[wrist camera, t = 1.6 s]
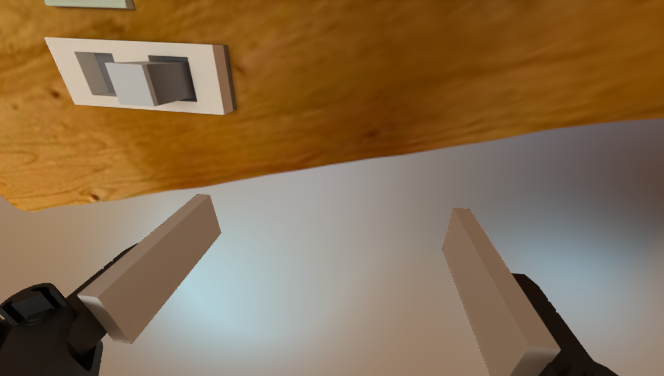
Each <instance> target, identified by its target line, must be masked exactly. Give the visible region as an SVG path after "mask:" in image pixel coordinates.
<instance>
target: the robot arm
mask: <svg viewBox="0 0 664 376" xmlns="http://www.w3.org/2000/svg"><path fill="white" fill-rule="evenodd" d="M220 234H221V231H220V227H219V224H218V221H217V217H216V214H215V211H214V207H213V204H212V201H211V198H210V195H204V194H197V195H196V196H194V197H193V198H192V199H191V200H190V201H188V202H187V203H186V204H185V205H184V206H182V207H181V208H180V209H179V210H178V211H177V212H175V213H174V214H173V215H172V216H171V217H169V218H168V219H167V220H166V221H165V222H163V224H161V225H160V226H159V227H158V228H156V229H155V230H154V231H153V232H151V233H150V234H149V235H148V236H147V237H145V238H144V239H143V240H142V241H141V242H140V243H137V244H135V245H133V246H132V247H130V248H128V249H126V250H124V251H123V252H122V253H120V254H119V255H118V256H117V257H115V258H114V259H113V261H112V262H109V263H108V264H107V265H106V266H104V269H101V270H100V271H98V272H97V273H96V274H95V275H93V276H92V277H91V278H90V279H89V280H87V281H86V282H85V283H84V284H83V285H81V286H80V287H79V288H78V289H76V290H75V291H74V292H73V293H72V294H70V295H69V296H68V297H67V298H65V297H64V296H63V295H62V294H61V293H60V292H59V290H58V289H57V288H56V287H55V286H54V285H53V284H51V283H41V284H37V285H33V286H31V287H28V288H26V289H23V290H21V291H20V292H18V293H16V294H14V295H13V296H11V297H10V298H8V299H7V300H5V301H4V302H3V303H2V304H1V305H0V314H1V315H2V316H3V317H4V318H5V319H4V320H3V319H2V318H0V376H98V375H99V369H100V363H101V356H102V350H103V343H102V341H101V339H102V338H103V337H104V336H105V334H106V333H108V334H109V336H110V337H111V338H112V340H113V341H114V342H121V343H127V344H132V343H133V342H134V341H135V339H136V338H137V337H138V336H139V335H140V333H141V332H142V331H143V330H144V328H145V327H146V326H147V325H148V323H149V322H150V321H151V320H152V319H153V317H154V316H155V314H157V312H158V311H159V310H160V309H161V307H162V306H163V305H164V304H165V302H166V301H167V300H168V299H169V297H170V296H171V295H172V294H173V292H174V291H175V290H176V289H177V287H178V286H179V285H180V283H181V282H182V281H183V280H184V279H185V277H186V276H187V275H188V274H189V272H190V271H191V270H192V269H193V268H194V266H195V265H196V264H197V262H198V261H199V260H200V259H201V258H202V256H203V255H204V254H205V253H206V251H207V250H208V249H209V248H210V246H211V245H212V244H213V242H214V241H215V240H216V239H217V238H218V236H219V235H220ZM442 250H443V253H444V255H445V258H446V261H447V263H448V266H449V269H450V271H451V274H452V277H453V279H454V282H455V285H456V287H457V290H458V292H459V295H460V298H461V300H462V303H463V306H464V308H465V311H466V314H467V316H468V319H469V321H470V324H471V327H472V329H473V332H474V335H475V337H476V340H477V342H478V345H479V348H480V350H481V353H482V356H483V358H484V361H485V364H486V366H487V369H488V371H489V374H490V376H618V375H617V374H615V373H614V372H612V371H611V370H610V369H608V368H607V367H605V366H603V365H601V364H598V363H596V362H594V361H593V360H592V358H591V357H590V356H589V355H588V353H587V352H586V350H585V349H584V348H583V346H582V345H581V344H580V342H579V341H578V340H577V338H576V337H575V335H574V334H573V333H572V331H571V330H570V329H569V327H568V326H567V324H566V323H565V322H564V320H563V319H562V318H561V316H560V315H559V313H556V309H555V308H554V307H553V305H552V304H551V303H550V302H549V301H548V298H547V297H546V296H545V294H544V293H543V292H542V290H541V289H540V287H539V286H538V285H537V284H535V283H534V282H533V281H532V280H531V279H529V278H528V277H527V276H526V275H524V274H513V273H511V272H510V271H509V269H508V267H507V266H506V265H505V263H504V261H503V260H502V258H501V257H500V255H499V254H498V252H497V251H496V249H495V247H494V246H493V245H492V243H491V241H490V240H489V238H488V237H487V235H486V234H485V232H484V231H483V229H482V228H481V226H480V224H479V223H478V221H477V220H476V218H475V217H474V215H473V214H472V212H471V211H470V209H462V208H453V211H452V215H451V218H450V222H449V226H448V230H447V233H446V237H445V240H444V244H443V248H442Z"/></svg>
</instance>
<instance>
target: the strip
mask: <svg viewBox="0 0 664 376" xmlns="http://www.w3.org/2000/svg"><path fill="white" fill-rule="evenodd" d="M44 38H45V41H46V43H47V45H48V47H49V49H50V51H51V54H52V56H53V58H54V60H55V62H56V64H57V67H58V69H59V71H60V73H61V75H62V77H63V80H64V82H65V84H66V86H67V88H68V91H69V93H70V95H71V97H72V99H73V101H74V104H78V105H93V106H107V107H121V108H135V109H149V110H163V111H177V112H191V113H206V114H220V115H225V114H227V113H230V112H232V111H234V110H236V103H235V96H234V89H233V83H232V76H231V69H230V63H229V56H228V49H227V46H226V45H205V44H183V43H161V42H138V41H116V40H93V39H71V38H49V37H44ZM163 60H172V61H189V66H190V70H191V75H192V79H193V84H194V88H195V93H196V96H194V97H190V98H187V99H183V100H179V101H175V102H171V103H167V104H163V105H159V106H155V107H151V106H137V105H122V104H120V103H119V100H118V98H117V95H116V92H115V89H114V87H113V84H112V81H111V79H110V76H109V73H108V71H107V68H106V65H105V63H112V62H137V61H163Z"/></svg>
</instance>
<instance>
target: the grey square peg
mask: <svg viewBox="0 0 664 376" xmlns="http://www.w3.org/2000/svg"><path fill="white" fill-rule="evenodd" d="M105 65H106V68H107V71H108V73H109V76H110V79H111V81H112V84H113V87H114V89H115V92H116V95H117V98H118V100H119V103H120V104H122V105H137V106H151V107H155V106H159V105H163V104H167V103H171V102H175V101H179V100H183V99H187V98H190V97H194V96H196V93H195V88H194V84H193V79H192V75H191V70H190V66H189V61H172V60H163V61H137V62H112V63H105Z"/></svg>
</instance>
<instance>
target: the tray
mask: <svg viewBox="0 0 664 376" xmlns="http://www.w3.org/2000/svg"><path fill="white" fill-rule="evenodd" d="M44 1H45V3H46V5H47V6H54V7H74V8H105V9H135V8H134V4H133V1H132V0H44Z"/></svg>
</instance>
